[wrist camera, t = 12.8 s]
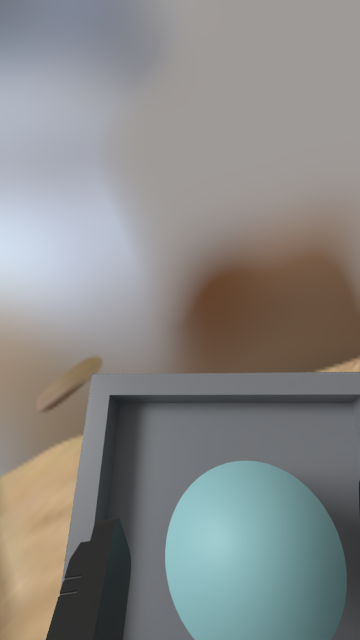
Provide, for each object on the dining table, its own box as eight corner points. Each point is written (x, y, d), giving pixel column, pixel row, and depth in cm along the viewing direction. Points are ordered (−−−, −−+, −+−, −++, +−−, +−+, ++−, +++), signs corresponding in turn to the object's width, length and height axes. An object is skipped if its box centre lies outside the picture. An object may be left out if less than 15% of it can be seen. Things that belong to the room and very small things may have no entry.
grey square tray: (344, 399, 23) (383, 371, 18) (395, 670, 17) (481, 763, 12) (122, 399, 25) (92, 374, 20) (97, 644, 19) (42, 713, 13)
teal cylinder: (276, 471, 18) (329, 462, 9) (286, 572, 16) (365, 686, 7) (195, 470, 18) (168, 459, 10) (194, 567, 17) (161, 668, 8)
